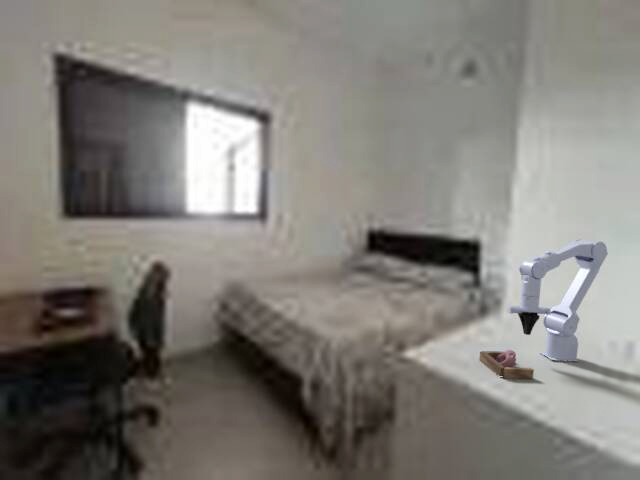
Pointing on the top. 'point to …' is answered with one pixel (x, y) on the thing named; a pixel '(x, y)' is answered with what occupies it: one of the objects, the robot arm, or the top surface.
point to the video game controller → (507, 358)
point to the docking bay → (500, 370)
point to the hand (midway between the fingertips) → (526, 333)
